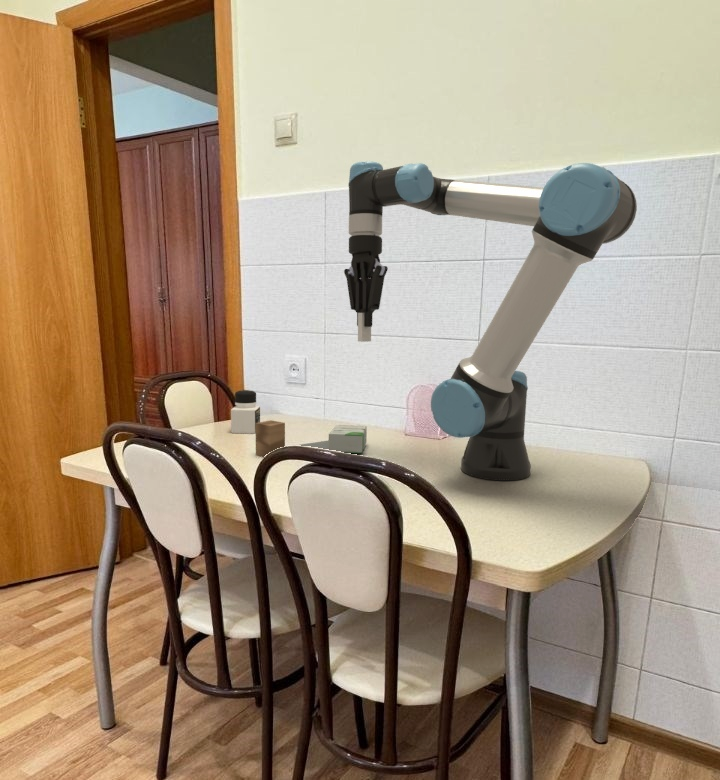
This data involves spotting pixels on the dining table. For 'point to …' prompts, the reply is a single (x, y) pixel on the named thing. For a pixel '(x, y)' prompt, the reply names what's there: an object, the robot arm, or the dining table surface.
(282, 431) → the walnut block
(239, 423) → the medicine bottle
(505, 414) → the robot arm
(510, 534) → the dining table surface
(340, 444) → the ink box
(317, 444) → the mat
